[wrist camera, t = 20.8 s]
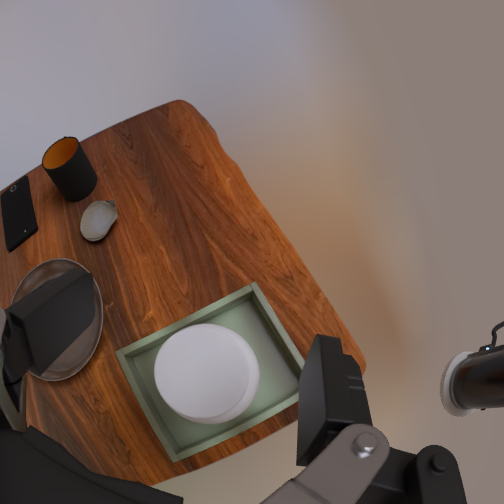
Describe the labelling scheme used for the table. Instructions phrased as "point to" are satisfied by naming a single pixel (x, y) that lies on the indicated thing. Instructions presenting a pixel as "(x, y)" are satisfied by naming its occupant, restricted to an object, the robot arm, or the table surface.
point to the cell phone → (18, 214)
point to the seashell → (98, 219)
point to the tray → (268, 356)
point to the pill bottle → (207, 373)
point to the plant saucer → (87, 341)
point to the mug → (70, 169)
